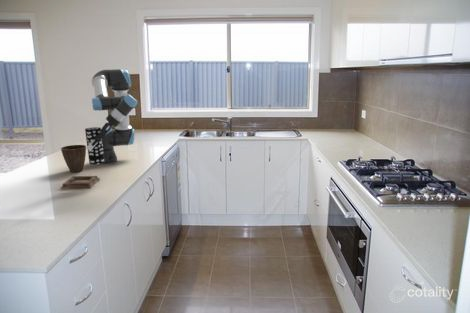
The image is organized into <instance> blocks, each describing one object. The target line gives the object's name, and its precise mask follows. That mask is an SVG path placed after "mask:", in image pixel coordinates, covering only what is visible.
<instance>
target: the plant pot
mask: <svg viewBox="0 0 470 313" xmlns="http://www.w3.org/2000/svg"><path fill="white" fill-rule="evenodd" d="M60 150H61V154H62V157H63V159H64V162H65V164H66V165H67V166H66V167H67V168H68V170H69V172H71V173H79V172H82V171H83V170H84V166H85V162H86V154H87V145H85V144H72V145H71V144H70V145H65V146H62V147H60Z"/></svg>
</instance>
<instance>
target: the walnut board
mask: <svg viewBox="0 0 470 313" xmlns="http://www.w3.org/2000/svg"><path fill="white" fill-rule="evenodd" d="M100 179H101V178H100V177H98V175H76V176H75V175H74V176H71V177H70V178H69V179H67V180H66V181H65V182H63V183H62V186H60V190H85V189H91V188H93V187H94V186H95V185H96V184H97V183H98V182H99V181H100Z"/></svg>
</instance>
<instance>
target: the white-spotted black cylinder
mask: <svg viewBox="0 0 470 313" xmlns="http://www.w3.org/2000/svg"><path fill="white" fill-rule="evenodd" d="M101 129H102V127H97V126H94V127H86V128H84V131H85V138H86V141H85V142H86V148H87V147H88V145H89V144H90V143H91V142H92V141H93V140H94V139H93V138H96V137H97V136H98V135H99V133H100V132H101ZM87 155H88V163H89V165H92V166H93V165H94V166H95V165H101V164H102V163H104V162H105V160H104V151H103V143H102V139H101V140H100V142H98V143H97V144H96V145H95V147H94V148H93V149H92V150H91V151H90V150H88V149H87Z"/></svg>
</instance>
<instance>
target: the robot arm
mask: <svg viewBox="0 0 470 313" xmlns="http://www.w3.org/2000/svg"><path fill="white" fill-rule="evenodd" d="M91 85H92V87H93V89H94V97H92V98H91V103H92V109H93V111H110V113H109V114H108V115H107V116H106V118H105V120H106V121H107V122H105V123H104V125H103V126H102V127H101V132H100V133H99V135H98V136H97V137H96V138H93V139H94V140H93V141H92V142H91V143H90V144H89V145H88V147H87V146H86V150H87V151H88V150H90V151H91V150H92V149H93V148H94V147H95V145H96V144H97V143H98V142H100V140H101V139H102V143H103V151H104V160H105V162H104V163H102V164H104V165H105V164H110V163H111V164H112V163H115V162H118V156H117V153H116V151H115V148H114V147H120V146H121V147H122V146H123V147H124V146H131V145H134V142H135V128H133V126H132V125H130V113H131V111H132V110H133V109H134V108H136V106H137V105H138V100H137V99H136V98H135V97H133V96H132V95H131V94H129V93H128V91H129V90H130V87H132V82H131V77H130V73H129V71H128V70H127V69H122V68H120V69H119V68H117V69H101V70H100V71H97V72H96V73H95V74H94V75H93V76H92V78H91ZM108 88H111V90H112V92H113V93H114V96H109V92H108ZM112 126H113V127H114V129H112Z"/></svg>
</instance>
